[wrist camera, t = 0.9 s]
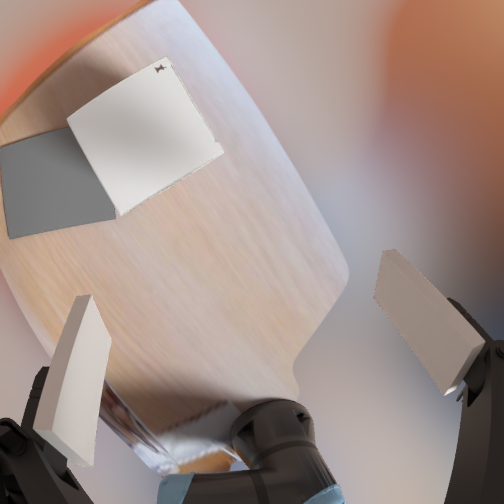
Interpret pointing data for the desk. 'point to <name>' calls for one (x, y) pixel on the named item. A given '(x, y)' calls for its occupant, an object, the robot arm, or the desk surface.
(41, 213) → the mat
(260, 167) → the desk surface
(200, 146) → the supplement box
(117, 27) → the desk surface
